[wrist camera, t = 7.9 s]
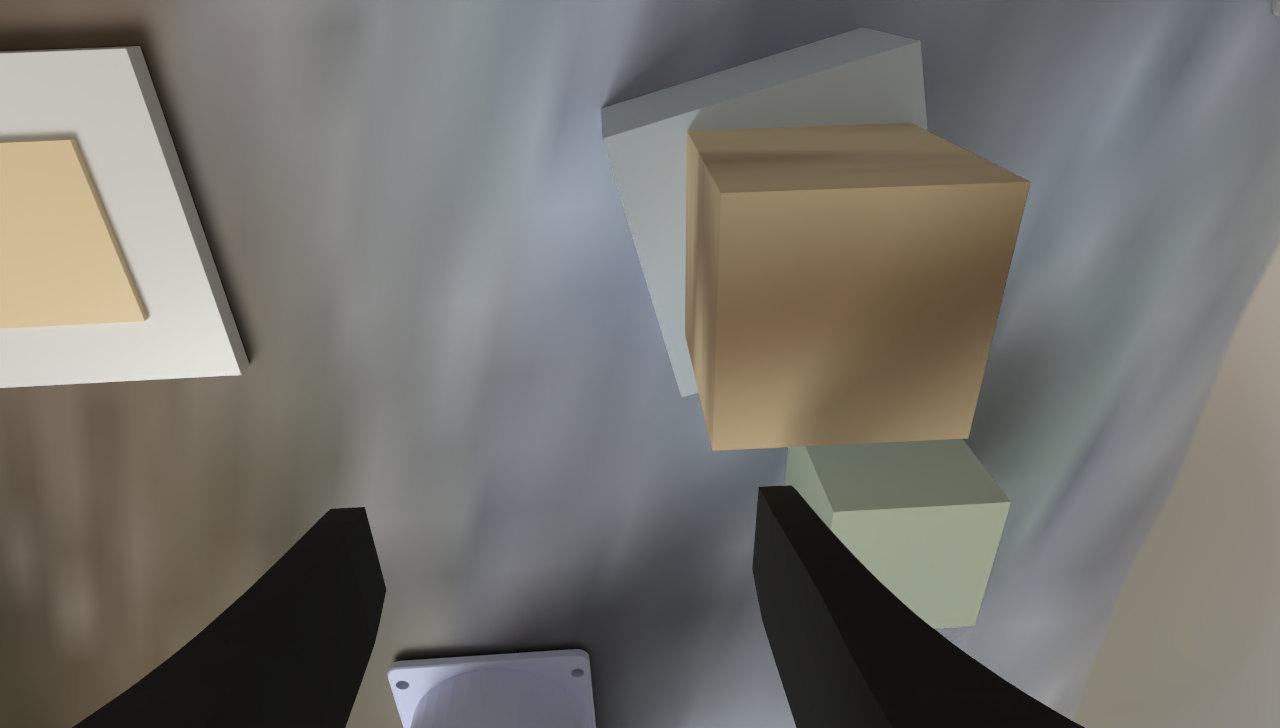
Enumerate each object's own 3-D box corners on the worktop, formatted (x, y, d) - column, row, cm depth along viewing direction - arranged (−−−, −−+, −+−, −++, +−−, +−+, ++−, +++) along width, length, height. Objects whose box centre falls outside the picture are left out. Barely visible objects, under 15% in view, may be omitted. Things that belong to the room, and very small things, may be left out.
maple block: (879, 326, 18) (968, 438, 14) (685, 334, 18) (712, 450, 14) (911, 122, 16) (1030, 182, 11) (686, 130, 16) (720, 192, 11)
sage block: (912, 518, 27) (974, 626, 22) (780, 525, 27) (816, 635, 22) (936, 405, 24) (1011, 502, 20) (790, 412, 24) (833, 512, 20)
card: (249, 364, 22) (238, 378, 21) (-52, 381, 22) (-74, 395, 21) (139, 45, 18) (121, 49, 17) (-241, 61, 17) (-276, 64, 17)
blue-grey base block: (887, 268, 22) (943, 325, 18) (667, 330, 23) (681, 397, 19) (858, 26, 19) (920, 41, 15) (600, 106, 19) (602, 138, 16)
